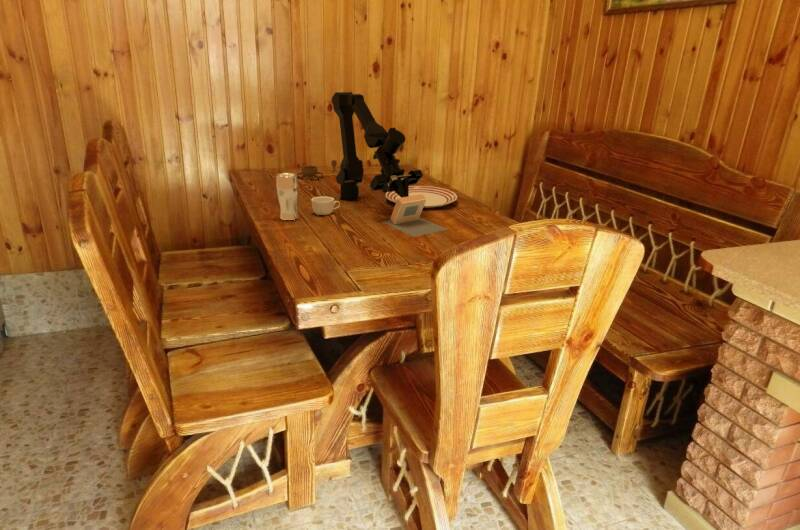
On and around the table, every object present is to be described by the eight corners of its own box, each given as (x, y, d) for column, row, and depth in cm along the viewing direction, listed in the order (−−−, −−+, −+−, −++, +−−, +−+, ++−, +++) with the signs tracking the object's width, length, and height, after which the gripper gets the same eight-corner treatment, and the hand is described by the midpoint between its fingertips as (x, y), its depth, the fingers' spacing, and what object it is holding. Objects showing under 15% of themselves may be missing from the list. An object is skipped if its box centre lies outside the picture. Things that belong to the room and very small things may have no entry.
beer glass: (281, 222, 178) (279, 178, 173) (276, 217, 184) (273, 173, 179) (302, 220, 181) (299, 176, 176) (295, 214, 187) (293, 172, 182)
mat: (381, 223, 180) (381, 221, 180) (415, 216, 188) (415, 215, 188) (413, 237, 167) (414, 236, 167) (448, 230, 175) (448, 229, 174)
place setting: (293, 174, 249) (293, 161, 246) (336, 172, 255) (336, 159, 253) (299, 183, 233) (299, 169, 231) (344, 180, 239) (344, 167, 237)
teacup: (313, 217, 184) (313, 202, 182) (310, 211, 191) (309, 197, 189) (342, 216, 187) (342, 201, 185) (338, 210, 194) (337, 195, 192)
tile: (390, 219, 179) (397, 198, 173) (414, 214, 185) (422, 194, 179) (394, 224, 178) (402, 203, 172) (418, 219, 183) (426, 199, 177)
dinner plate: (452, 215, 192) (453, 206, 191) (377, 209, 197) (378, 200, 195) (460, 196, 217) (460, 188, 216) (393, 191, 222) (393, 183, 220)
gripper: (400, 172, 194) (418, 209, 190) (356, 178, 184) (374, 217, 179) (414, 154, 185) (433, 192, 181) (368, 159, 175) (387, 199, 170)
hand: (407, 200), depth 178 cm, fingers closed
